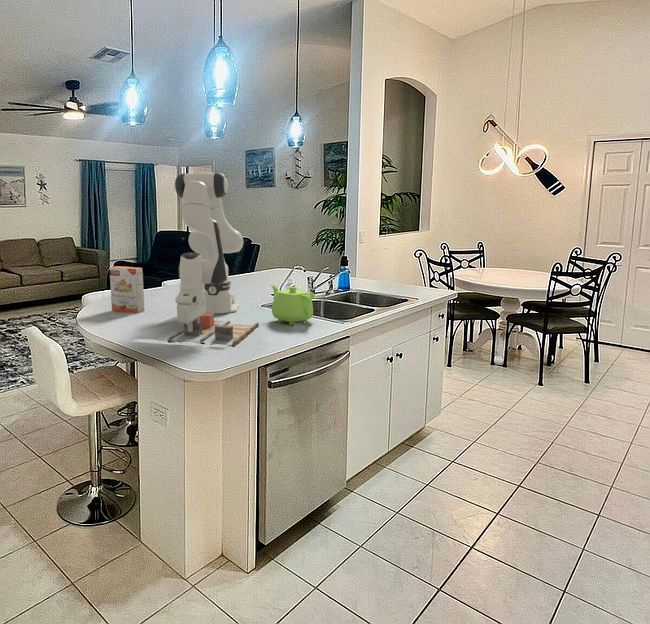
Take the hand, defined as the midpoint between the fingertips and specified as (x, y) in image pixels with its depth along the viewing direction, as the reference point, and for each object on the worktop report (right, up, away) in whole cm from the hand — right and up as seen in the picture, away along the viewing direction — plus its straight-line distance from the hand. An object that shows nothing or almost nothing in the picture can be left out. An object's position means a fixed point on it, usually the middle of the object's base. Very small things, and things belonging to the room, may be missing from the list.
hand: (193, 330), depth 213 cm
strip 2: (+15, -2, +5) cm, 16 cm away
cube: (+2, +1, +14) cm, 14 cm away
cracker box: (-42, +7, +45) cm, 62 cm away
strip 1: (+2, -1, +11) cm, 11 cm away
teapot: (+38, +3, +35) cm, 51 cm away
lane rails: (+8, -2, +6) cm, 10 cm away
